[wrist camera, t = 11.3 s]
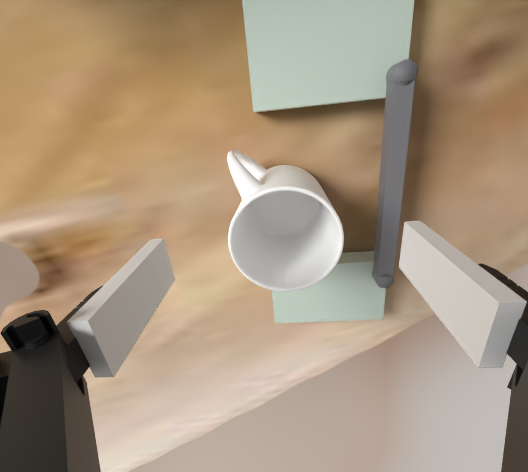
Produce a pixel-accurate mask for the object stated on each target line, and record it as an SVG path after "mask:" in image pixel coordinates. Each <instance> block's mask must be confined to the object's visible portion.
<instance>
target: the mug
mask: <svg viewBox="0 0 528 472" xmlns="http://www.w3.org/2000/svg"><path fill="white" fill-rule="evenodd" d="M227 160H228V166H229V169H230V172H231V175H232V177H233V180H234V182H235V184H236V186H237V189H238V191H239V193H240V195H241V198H242V201H241V203H240V205H239V207H238V209H237V211H236V213H235V215H234V217H233V219H232V221H231V224H230V228H229V234H228V244H229V250H230V254H231V256H232V259H233V261H234V263H235V264H236V266H237V268H238V269H239V270H240V271H241V273H242V274H243V275H244V276H245V277H247V278H248V279H249V280H250V281H252V282H254V283H255V284H257V285H259V286H261V287H263V288H267V289H270V290H275V291H283V292H286V291H298V290H302V289H305V288H308V287H311V286H313V285H315V284H317V283H318V282H320V281H321V280H323V279H324V278H325V277H326V276H327V275H328V274H329V273H330V272H331V271H332V270H333V269H334V267H335V266H336V264H337V263H338V261H339V259H340V256H341V253H342V250H343V245H344V232H343V227H342V223H341V221H340V218H339V216H338V215H337V213H336V211H335V210H334V208H333V206H332V204H331V203H330V201H329V199H328V198H327V196H326V194H325V193H324V191H323V189H322V188H321V186H320V184H319V183H318V181H317V180H316V179H315V178H314V177H313V176H312V175H311V174H310V173H308V172H307V171H305V170H303V169H302V168H299V167H296V166H291V165H279V166H275V167H271V168H269V169H265V168H264V167H262V166H261V165H260V164H259V163H257V162H256V161H255V160H253V159H252V158H251V157H249V156H247V155H245V154H244V153H242V152H239V151H236V150H232V151H230V152H229V153H228V156H227Z"/></svg>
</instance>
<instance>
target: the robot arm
mask: <svg viewBox="0 0 528 472" xmlns="http://www.w3.org/2000/svg"><path fill="white" fill-rule="evenodd" d="M399 268H400V269H401V270H402V272H403V273H404V274H405V275H406V277H407V278H408V279H409V281H410V282H411V283H412V284H413V286H414V287H415V288H416V289H417V291H418V292H419V293H420V295H421V296H422V297H423V298H424V300H425V301H426V302H427V303H428V305H429V306H430V307H431V309H432V310H433V311H434V312H435V314H436V315H437V316H438V317H439V319H440V320H441V321H442V323H443V324H444V325H445V326H446V328H447V329H448V330H449V331H450V333H451V334H452V335H453V337H454V338H455V339H456V340H457V342H458V343H459V344H460V345H461V347H462V348H463V349H464V350H465V352H466V353H467V354H468V356H469V357H470V358H471V359H472V361H473V362H474V363H475V365H476V366H477V367H478V368H496V367H497V368H498V367H503V364H504V361H505V359H506V355H507V354H508V355H509V356H510V357H511V358H512V359H513V360H514V361H515V362H516V363H517V365H516V367H515V370H514V372H513V375H512V377H511V380H510V382H509V384H508V388H509V389H511V397H510V406H509V414H508V422H507V429H506V438H505V446H504V454H503V462H502V470H501V472H528V292H527V291H526V290H524V289H523V288H521V287H520V286H517V284H516V283H514V282H513V281H512V280H510V279H508V278H507V277H506V276H505V275H503V274H502V273H500V272H499V271H498V270H496V269H493V268H491V267H489V266H487V265H484V264H477V263H475V262H474V261H473V260H471V259H470V258H469V257H467V256H466V255H465V254H463V253H462V252H461V251H459V250H458V249H457V248H455V247H454V246H453V245H451V244H450V243H449V242H447V241H446V240H445V239H443V238H442V237H441V236H439V235H438V234H437V233H436V232H434V231H433V230H432V229H430V228H429V227H428V226H426V225H425V224H424V223H422V222H421V221H406V222H404V229H403V237H402V245H401V253H400V261H399ZM174 280H175V278H174V274H173V270H172V267H171V263H170V260H169V256H168V252H167V249H166V245H165V242H164V238H163V239H151V240H150V241H149V242H148V243H146V244H145V245H144V246H143V247H142V248H141V249H140V250H139V251H138V252H137V253H136V254H135V255H134V256H133V257H132V258H131V259H130V260H129V261H128V262H127V263H126V264H125V265H124V266H123V267H122V268H121V269H120V270H119V271H118V272H117V273H116V274H115V275H114V276H113V277H112V278H111V279H110V280H109V281H108V282H107V283H106V284H105V285H104V286H101V287H99V288H98V289H96V290H95V291H93V292H91V293H90V294H89V295H88V296H87V297H86V298H85V299H84V300H83V302H81V303H80V304H79V305H78V306H77V308H75V309H73V310H72V311H71V312H70V313H69V314H68V315H67V316H66V317H65V318H64V319H63V320H62V321H61V322H60V323H59V324H58V325H57V326H56V325H55V323H54V321H53V319H52V317H51V315H50V313H49V312H48V311H45V310H39V311H34V312H31V313H27V314H25V315H23V316H21V317H18V318H17V319H15V320H13V321H12V322H10V323H9V324H8V325H7V326H5V327H4V328H3V330H2V331H1V335H2V336H3V338H4V339H5V341H6V342H7V344H8V345H9V347H10V348H11V350H12V351H8V352H4V353H0V472H101V471H100V465H99V458H98V452H97V446H96V439H95V433H94V427H93V420H92V414H91V408H90V401H89V395H88V389H87V382H86V380H85V378H84V376H83V375H84V373H85V372H86V371H87V369H88V368H89V367H90V368H91V370H92V372H93V374H94V376H95V377H114V376H115V375H116V373H117V371H118V370H119V368H120V367H121V365H122V363H123V362H124V360H125V359H126V357H127V355H128V354H129V352H130V351H131V349H132V347H133V346H134V344H135V343H136V341H137V339H138V338H139V336H140V335H141V333H142V331H143V330H144V328H145V327H146V325H147V323H148V322H149V320H150V319H151V317H152V315H153V314H154V312H155V311H156V309H157V307H158V306H159V304H160V303H161V301H162V299H163V298H164V296H165V295H166V293H167V291H168V290H169V288H170V287H171V285H172V283H173V282H174Z"/></svg>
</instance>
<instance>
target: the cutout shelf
mask: <svg viewBox="0 0 528 472" xmlns="http://www.w3.org/2000/svg"><path fill="white" fill-rule="evenodd" d="M242 4H243V14H244V23H245V33H246V43H247V53H248V63H249V72H250V82H251V92H252V102H253V112H265V111H274V110H283V109H293V108H302V107H311V106H320V105H329V104H339V103H348V102H357V101H366V100H375V99H385V112H384V125H383V139H382V153H381V166H380V180H379V194H378V207H377V221H376V235H375V249H374V251H363V252H346V253H341V256H340V259H339V261H338V263H337V264H336V266H335V267H334V269H333V270H332V271H331V272H330V273H329V274H328V275H327V276H326V277H325V278H324V279H323V280H321V281H320V282H318V283H317V284H315V285H313V286H311V287H308V288H305V289H302V290H298V291H286V292H283V291H275V290H272V298H273V308H274V318H275V323H296V322H323V321H350V320H377V319H383V314H384V304H385V294H386V288H388V287H390V286H391V285H392V284H393V283H394V268H395V259H396V250H397V241H398V232H399V223H400V214H401V204H402V195H403V186H404V177H405V168H406V159H407V149H408V140H409V131H410V122H411V113H412V104H413V95H414V85H415V77H416V75H417V65H416V63H415V62H414V61H412V60H410V59H409V50H410V40H411V29H412V19H413V9H414V0H242Z"/></svg>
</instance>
